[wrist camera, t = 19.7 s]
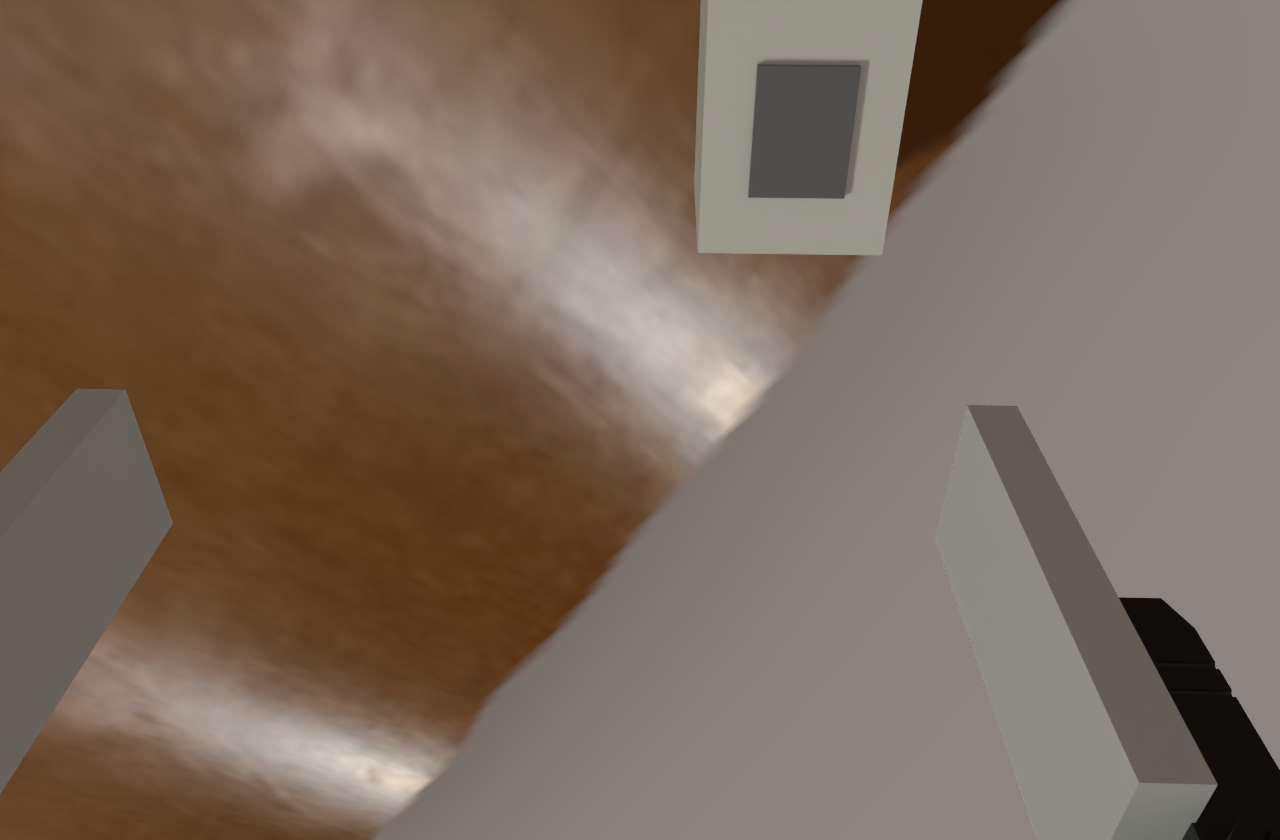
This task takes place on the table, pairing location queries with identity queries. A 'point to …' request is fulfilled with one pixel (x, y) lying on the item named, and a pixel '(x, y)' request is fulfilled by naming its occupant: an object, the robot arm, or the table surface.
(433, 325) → the table surface
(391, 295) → the table surface
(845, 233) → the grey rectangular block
